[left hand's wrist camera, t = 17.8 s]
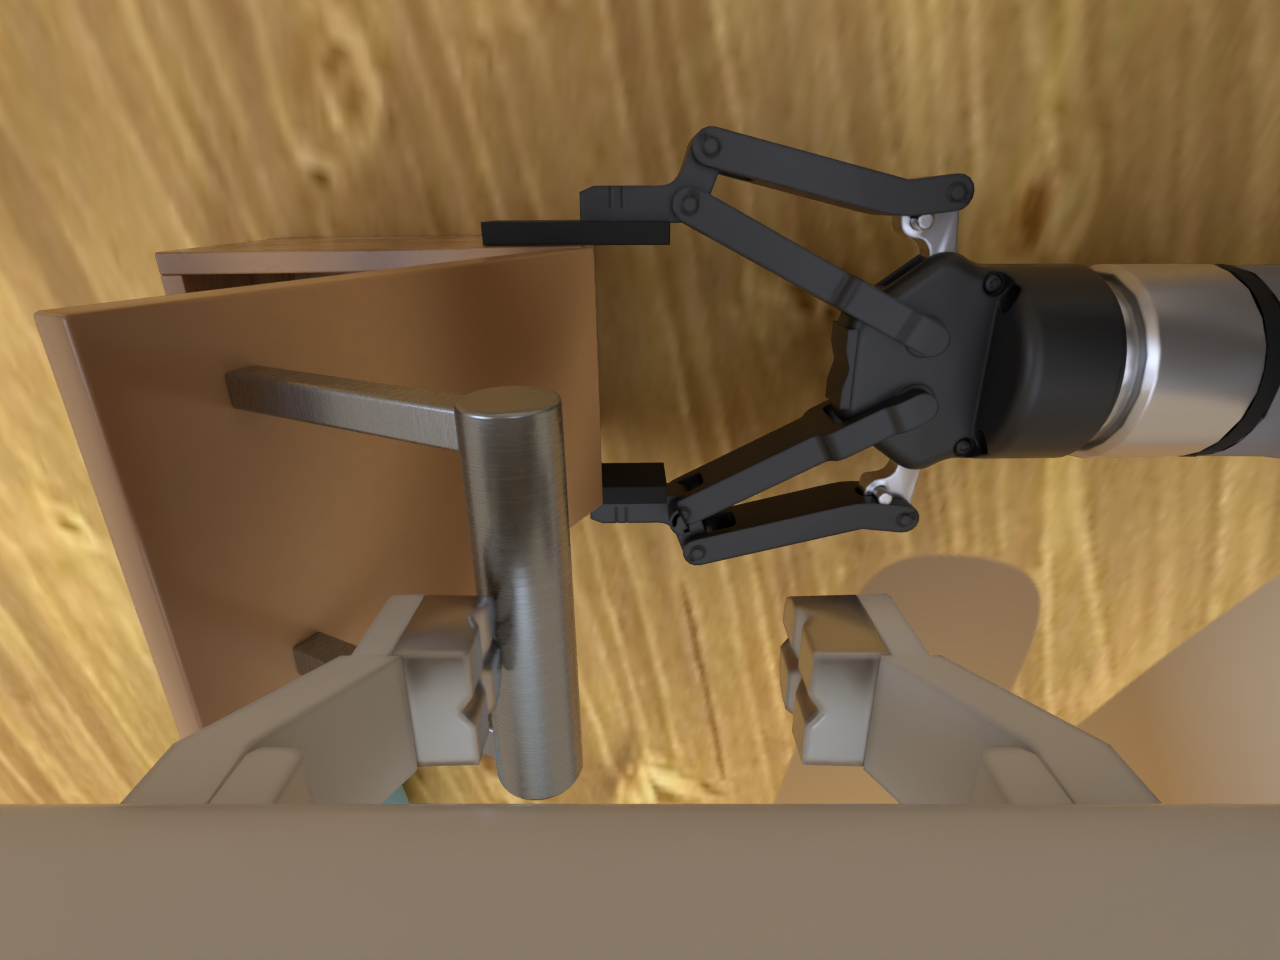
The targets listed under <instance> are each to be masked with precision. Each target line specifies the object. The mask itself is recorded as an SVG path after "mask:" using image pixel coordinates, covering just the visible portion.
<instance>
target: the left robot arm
mask: <svg viewBox="0 0 1280 960" xmlns="http://www.w3.org/2000/svg"><path fill="white" fill-rule="evenodd" d="M783 624H784V626H785V629H786V632H787V635H788V639H787V640H786V641H785V642H784V643H783V644H782V645H781V647H780V663H779V669H780V686H781V692H782V697H783V701H784V705H785V708H786V710H788V711H789V712H790V713H792V714H793V725H792V732H793V735H794V739H795V742H796V745H797V748H798V752H799V755H800V758H801V761H802V764H803V765H831V766H864V770H865V771H866V772H867V773H868V774H869V775H870V776H871V777H872V778H874V780H876V781H877V782H878V783H879V784H880V785H881V786H882V787H883V788H884V789H885V790H886V791H887V792H888V793H889V794H890V795H891V796H893V797H894V798H895V799H896V800H897V801H898V802H899V803H900V804H382V803H383V802H384V801H385V800H386V799H387V798H388V797H389V796H390V795H392V794H393V793H394V792H395V791H396V790H397V789H398V788H399V787H400V786H401V785H402V784H403V783H404V782H405V781H406V780H407V779H409V778H410V777H411V776H412V775H413V774H414V773H415V772H416V771H417V770H418V767H417V766H450V765H479V763H480V760H481V757H482V753H483V750H484V747H485V743H486V740H487V737H488V733H489V721H488V715H489V714H490V713H491V712H492V711H494V710H495V709H496V706H497V702H498V699H499V695H500V687H501V679H502V659H501V648H500V646H499V645H498V643H497V642H496V641H495V640H494V638H493V636H494V633H495V630H496V628H497V625H498V617H497V608H496V600H495V598H494V596H478V595H426V594H400V595H393V596H391V597H390V598H389V599H388V600H387V602H386V603H385V605H384V606H383V608H382V609H381V611H380V612H379V614H378V615H377V617H376V618H375V620H374V621H373V623H372V624H371V626H370V627H369V629H368V630H367V632H366V633H365V635H364V637H363V638H362V640H361V641H360V643H359V644H358V646H357V647H356V649H355V650H354V652H353V653H352V655H347V656H339V657H337V658H335V659H333V660H331V661H329V662H327V663H326V664H324V665H322V666H320V667H318V668H316V669H314V670H312V671H310V672H308V673H307V674H305V675H303V676H301V677H299V678H297V679H295V680H293V681H291V682H290V683H288V684H286V685H284V686H282V687H280V688H278V689H276V690H274V691H273V692H271V693H269V694H267V695H265V696H263V697H261V698H259V699H257V700H256V701H254V702H252V703H250V704H248V705H246V706H244V707H242V708H240V709H238V710H237V711H235V712H233V713H231V714H229V715H227V716H225V717H223V718H221V719H220V720H218V721H216V722H214V723H212V724H210V725H208V726H206V727H204V728H203V729H201V730H199V731H197V732H195V733H193V734H191V735H189V736H187V737H186V738H184V739H182V740H180V741H178V742H176V743H174V744H173V745H172V746H171V747H170V748H169V749H168V750H167V752H166V753H165V754H164V755H163V756H162V757H161V758H160V759H159V761H158V762H157V763H156V764H155V765H154V766H153V767H152V768H151V770H150V771H149V772H148V773H147V774H146V775H145V776H144V777H143V779H142V780H141V781H140V782H139V783H138V784H137V785H136V786H135V788H134V789H133V790H132V791H131V792H130V793H129V794H128V795H127V797H126V798H125V799H124V800H123V801H122V802H121V803H120V804H0V960H1280V804H1162V803H1161V802H1160V801H1159V800H1158V798H1157V797H1156V796H1155V795H1154V794H1153V793H1152V792H1151V791H1150V789H1149V788H1148V787H1147V786H1146V785H1145V784H1144V783H1143V782H1142V780H1141V779H1140V778H1139V777H1138V776H1137V775H1136V774H1135V773H1134V771H1133V770H1132V769H1131V768H1130V767H1129V766H1128V765H1127V763H1126V762H1125V761H1124V760H1123V759H1122V758H1121V757H1120V756H1119V754H1118V753H1117V752H1116V751H1115V750H1114V749H1113V748H1112V747H1111V745H1109V744H1107V743H1105V742H1103V741H1102V740H1100V739H1098V738H1096V737H1094V736H1092V735H1090V734H1088V733H1086V732H1085V731H1083V730H1081V729H1079V728H1077V727H1075V726H1073V725H1071V724H1069V723H1068V722H1066V721H1064V720H1062V719H1060V718H1058V717H1056V716H1054V715H1052V714H1051V713H1049V712H1047V711H1045V710H1043V709H1041V708H1039V707H1037V706H1035V705H1034V704H1032V703H1030V702H1028V701H1026V700H1024V699H1022V698H1020V697H1018V696H1017V695H1015V694H1013V693H1011V692H1009V691H1007V690H1005V689H1003V688H1001V687H999V686H998V685H996V684H994V683H992V682H990V681H988V680H986V679H984V678H983V677H981V676H979V675H977V674H975V673H973V672H971V671H969V670H967V669H966V668H964V667H962V666H960V665H958V664H956V663H954V662H952V661H950V660H949V659H947V658H945V657H943V656H933V655H930V654H929V652H928V651H927V649H926V648H925V646H924V645H923V643H922V642H921V640H920V639H919V637H918V636H917V635H916V633H915V632H914V630H913V629H912V627H911V626H910V624H909V623H908V621H907V620H906V618H905V617H904V615H903V614H902V612H901V611H900V609H899V608H898V606H897V605H896V603H895V602H894V601H893V599H892V598H891V596H889V595H887V594H868V595H828V596H790V597H787V598H786V602H785V606H784V614H783Z"/></svg>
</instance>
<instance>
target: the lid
mask: <svg viewBox="0 0 1280 960" xmlns="http://www.w3.org/2000/svg"><path fill="white" fill-rule="evenodd" d="M34 319H35V322H36V325H37V328H38V331H39V334H40V337H41V339H42V342H43V345H44V348H45V351H46V354H47V357H48V360H49V362H50V365H51V368H52V371H53V374H54V377H55V380H56V382H57V385H58V388H59V391H60V394H61V397H62V400H63V402H64V405H65V408H66V411H67V414H68V417H69V420H70V423H71V425H72V428H73V431H74V434H75V437H76V440H77V443H78V445H79V448H80V451H81V454H82V457H83V460H84V463H85V466H86V468H87V471H88V474H89V477H90V480H91V483H92V486H93V488H94V491H95V494H96V497H97V500H98V503H99V506H100V509H101V511H102V514H103V517H104V520H105V523H106V526H107V529H108V531H109V534H110V537H111V540H112V543H113V546H114V549H115V552H116V554H117V557H118V560H119V563H120V566H121V569H122V572H123V574H124V577H125V580H126V583H127V586H128V589H129V592H130V594H131V597H132V600H133V603H134V606H135V609H136V612H137V615H138V617H139V620H140V623H141V626H142V629H143V632H144V635H145V637H146V640H147V643H148V646H149V649H150V652H151V655H152V658H153V660H154V663H155V666H156V669H157V672H158V675H159V678H160V680H161V683H162V686H163V689H164V692H165V695H166V698H167V701H168V703H169V706H170V709H171V712H172V715H173V718H174V721H175V723H176V726H177V729H178V732H179V735H180V738H181V740H182V739H184V738H186V737H187V736H189V735H191V734H193V733H195V732H197V731H199V730H201V729H203V728H204V727H206V726H208V725H210V724H212V723H214V722H216V721H218V720H220V719H221V718H223V717H225V716H227V715H229V714H231V713H233V712H235V711H237V710H238V709H240V708H242V707H244V706H246V705H248V704H250V703H252V702H254V701H256V700H257V699H259V698H261V697H263V696H265V695H267V694H269V693H271V692H273V691H274V690H276V689H278V688H280V687H282V686H284V685H286V684H288V683H290V682H291V681H293V680H295V679H297V678H299V677H301V676H303V675H305V674H307V673H308V672H310V671H312V670H314V669H316V668H318V667H320V666H322V665H324V664H326V663H327V662H329V661H331V660H333V659H335V658H337V657H339V656H347V655H352V653H353V652H354V650H355V649H356V647H357V646H358V644H359V643H360V641H361V640H362V638H363V637H364V635H365V633H366V632H367V630H368V629H369V627H370V626H371V624H372V623H373V621H374V620H375V618H376V617H377V615H378V614H379V612H380V611H381V609H382V608H383V606H384V605H385V603H386V602H387V600H388V599H389V598H390V597H391V596H393V595H400V594H426V595H478V596H494V598H495V600H496V608H497V617H498V625H497V628H496V630H495V633H494V636H493V638H494V640H495V641H496V642H497V643H498V645H499V646H500V648H501V659H502V679H501V687H500V695H499V699H498V702H497V706H496V709H495V710H494V711H492V712H491V713H490V714H489V715H488V721H489V733H488V737H487V740H486V743H485V747H484V750H483V753H482V754H485V755H487V756H489V757H492V758H494V759H496V761H497V769H498V776H499V779H500V782H501V783H502V785H503V786H504V788H505V789H506V790H507V791H508V792H510V793H511V794H513V795H514V796H516V797H519V798H522V799H527V800H543V799H548V798H551V797H554V796H557V795H559V794H561V793H563V792H564V791H566V790H567V789H568V788H570V787H571V786H572V785H573V784H574V782H575V781H576V780H577V778H578V777H579V775H580V772H581V770H582V766H583V754H582V737H581V719H580V702H579V685H578V668H577V651H576V634H575V617H574V600H573V582H572V565H571V548H570V531H569V528H571V527H572V526H573V525H575V524H576V523H577V522H579V521H580V520H582V519H583V518H584V517H586V516H587V515H588V514H590V513H591V512H592V511H594V510H595V509H596V508H598V507H599V506H600V505H602V503H603V493H602V466H601V439H600V412H599V384H598V357H597V330H596V303H595V276H594V250H593V249H592V248H576V247H568V248H560V249H552V250H543V251H535V252H526V253H518V254H510V255H501V256H493V257H485V258H476V259H468V260H459V261H451V262H443V263H434V264H426V265H418V266H409V267H401V268H392V269H384V270H376V271H367V272H359V273H351V274H342V275H334V276H325V277H317V278H309V279H300V280H292V281H284V282H275V283H267V284H258V285H250V286H242V287H233V288H225V289H217V290H208V291H200V292H191V293H183V294H175V295H166V296H158V297H150V298H141V299H133V300H124V301H116V302H108V303H99V304H91V305H83V306H74V307H66V308H58V309H49V310H41V311H37V312H35V313H34Z"/></svg>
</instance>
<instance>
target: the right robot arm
mask: <svg viewBox="0 0 1280 960" xmlns="http://www.w3.org/2000/svg"><path fill="white" fill-rule="evenodd" d="M718 174H719V175H723V176H727V177H731V178H734V179H738V180H742V181H746V182H749V183H753V184H757V185H761V186H764V187H768V188H772V189H776V190H779V191H783V192H787V193H791V194H794V195H798V196H802V197H806V198H809V199H813V200H817V201H821V202H824V203H828V204H832V205H836V206H839V207H843V208H847V209H851V210H854V211H858V212H863V213H868V214H874V215H890V216H892V225H893V228H894V231H895V232H896V233H897V234H898V235H900V236H903V237H908V238H912V239H913V240H915V241H916V242H917V244H918V246H919V249H920V254H919V255H917V256H916V257H914V258H913V259H911V260H910V261H909V262H907V263H906V264H904V265H903V266H901V267H900V268H898V269H897V270H896V271H894V272H893V273H891V274H890V275H888V276H887V277H886V278H884V279H883V280H881V281H880V282H878V283H877V284H875V285H874V286H872V285H870V284H868V283H867V282H865V281H863V280H861V279H859V278H857V277H855V276H853V275H851V274H849V273H847V272H846V271H844V270H842V269H840V268H838V267H837V266H835V265H833V264H831V263H830V262H828V261H826V260H824V259H823V258H821V257H819V256H817V255H816V254H814V253H812V252H810V251H809V250H807V249H805V248H803V247H802V246H800V245H798V244H796V243H795V242H793V241H791V240H789V239H788V238H786V237H784V236H782V235H780V234H779V233H777V232H775V231H773V230H772V229H770V228H768V227H766V226H765V225H763V224H761V223H759V222H758V221H756V220H754V219H752V218H751V217H749V216H747V215H745V214H744V213H742V212H740V211H738V210H737V209H735V208H733V207H731V206H730V205H728V204H726V203H724V202H723V201H721V200H719V199H717V198H716V197H714V196H712V195H710V194H711V191H712V189H713V186H714V183H715V181H716V178H717V175H718ZM973 194H974V183H973V182H972V180H971V178H970V177H968V176H967V175H965V174H948V175H937V176H927V177H919V178H911V179H905V178H901V177H897V176H894V175H890V174H886V173H883V172H879V171H875V170H872V169H868V168H864V167H861V166H857V165H853V164H850V163H846V162H842V161H839V160H835V159H832V158H828V157H824V156H821V155H817V154H813V153H810V152H806V151H802V150H799V149H795V148H791V147H788V146H784V145H780V144H777V143H773V142H769V141H766V140H762V139H759V138H755V137H751V136H748V135H744V134H740V133H737V132H733V131H729V130H726V129H722V128H718V127H711V126H708V127H706V128H703V129H701V130H700V131H699V132H698V133H697V134H696V135H695V136H694V137H693V138H692V139H691V141H690V142H689V145H688V147H687V152H686V155H685V157H684V160H683V163H682V166H681V169H680V172H679V174H678V176H677V177H676V178H675V180H674V181H672V182H671V183H670V184H667V185H662V186H592V187H590V188H588V189H586V190H583V191H581V192H580V220H531V221H488V222H481V229H482V241H483V245H670V223H684V224H685V225H687V226H689V227H691V228H693V229H694V230H696V231H698V232H700V233H702V234H703V235H705V236H707V237H709V238H711V239H712V240H714V241H716V242H718V243H720V244H721V245H723V246H725V247H727V248H729V249H730V250H732V251H734V252H736V253H738V254H739V255H741V256H743V257H745V258H747V259H748V260H750V261H752V262H754V263H756V264H757V265H759V266H761V267H763V268H765V269H766V270H768V271H770V272H772V273H774V274H775V275H777V276H779V277H781V278H783V279H784V280H786V281H788V282H790V283H792V284H793V285H795V286H797V287H799V288H801V289H802V290H804V291H806V292H808V293H810V294H811V295H813V296H815V297H816V298H818V299H820V300H822V301H824V302H825V303H827V304H829V305H831V306H833V307H834V308H836V309H838V310H840V311H842V313H841V315H840V317H839V319H838V321H833V327H832V337H831V342H832V348H833V354H834V362H833V364H832V367H831V370H830V372H829V375H828V378H827V386H826V397H827V398H828V399H829V400H827V401H825V402H823V403H821V404H819V405H817V406H814V407H812V408H811V409H809V410H807V411H806V412H805V414H804V415H803V416H802V417H801V418H799V419H797V420H795V421H793V422H791V423H789V424H787V425H785V426H783V427H781V428H779V429H777V430H775V431H773V432H771V433H769V434H767V435H765V436H763V437H760V438H758V439H756V440H754V441H752V442H750V443H748V444H746V445H744V446H742V447H740V448H738V449H736V450H734V451H732V452H730V453H728V454H726V455H723V456H721V457H719V458H717V459H715V460H713V461H711V462H709V463H707V464H705V465H703V466H701V467H699V468H697V469H695V470H693V471H691V472H689V473H687V474H684V475H682V476H680V477H678V478H676V479H674V480H672V481H671V482H670V483H666V477H665V470H664V463H601V466H602V493H603V503H602V505H600V506H599V507H598V508H596V509H595V510H594V511H592V512H591V519H592V520H595V521H598V522H601V523H616V522H617V523H626V522H627V523H651V522H659V523H665V524H667V525H669V526H670V528H671V529H672V531H673V532H674V533H676V535H677V537H678V540H679V543H680V545H681V548H682V550H683V556H684V558H685V560H686V561H687V562H688V563H690V564H692V565H703V564H707V563H712V562H716V561H721V560H725V559H729V558H734V557H738V556H743V555H747V554H752V553H756V552H761V551H765V550H770V549H774V548H779V547H783V546H787V545H792V544H796V543H801V542H805V541H810V540H814V539H819V538H823V537H828V536H832V535H837V534H841V533H846V532H850V531H854V530H859V529H869V530H880V531H891V532H908V531H910V530H912V529H913V528H914V527H915V526H916V525H917V523H918V521H919V514H918V512H917V510H916V509H915V508H914V507H913V506H912V505H911V501H912V498H913V494H914V491H915V487H916V484H917V480H918V476H919V473H920V469H923V468H926V467H929V466H931V465H933V464H935V463H937V462H939V461H942V460H945V459H949V458H955V457H960V458H1057V457H1063V456H1066V455H1070V456H1075V457H1080V458H1109V457H1151V456H1187V457H1196V456H1265V457H1273V458H1280V264H1271V265H1224V264H1096V265H1093V266H1090V267H1086V266H1084V265H1080V264H976V263H974V262H971V261H970V260H968V259H967V258H965V257H964V256H962V255H960V254H958V253H957V236H958V219H959V210H961V209H963V208H964V207H966V206H967V205H968V204H969V203H970V201H971V200H972V198H973ZM871 446H874V447H875V448H877V449H878V450H879V451H881V452H882V453H883V454H885V455H886V456H887V457H889V458H890V460H889V462H888V464H887V465H886V466H885V467H884V468H882V469H880V470H878V471H871V472H865V473H863V474H862V475H861V477H860V481H844V482H836V483H831V484H826V485H822V486H818V487H813V488H809V489H804V490H800V491H796V492H791V493H787V494H783V495H778V496H774V497H770V498H765V499H761V500H757V501H752V502H748V503H743V504H739V505H735V504H737V503H739V502H741V501H743V500H745V499H748V498H750V497H752V496H754V495H756V494H758V493H760V492H762V491H764V490H767V489H769V488H771V487H773V486H775V485H777V484H779V483H781V482H783V481H786V480H788V479H790V478H792V477H794V476H796V475H798V474H800V473H803V472H805V471H807V470H809V469H811V468H813V467H815V466H817V465H819V464H822V463H824V462H826V461H838V460H842V459H845V458H847V457H849V456H852V455H854V454H856V453H858V452H860V451H862V450H864V449H866V448H869V447H871ZM733 505H735V506H733Z"/></svg>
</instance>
